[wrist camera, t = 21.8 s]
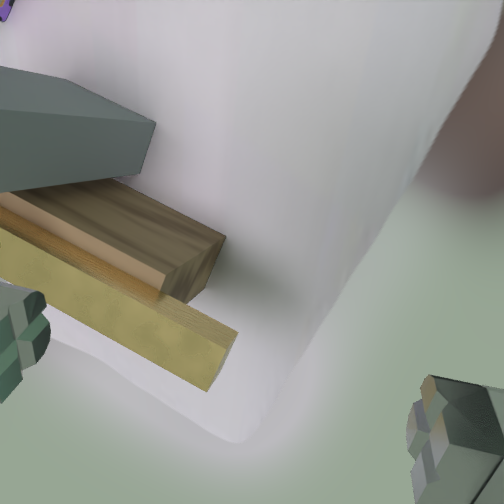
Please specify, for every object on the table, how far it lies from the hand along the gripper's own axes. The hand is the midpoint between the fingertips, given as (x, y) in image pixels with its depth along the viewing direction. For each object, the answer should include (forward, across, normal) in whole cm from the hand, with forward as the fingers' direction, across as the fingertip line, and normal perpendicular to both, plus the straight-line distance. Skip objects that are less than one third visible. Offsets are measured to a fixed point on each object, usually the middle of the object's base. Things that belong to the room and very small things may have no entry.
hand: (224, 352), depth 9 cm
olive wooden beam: (+20, +14, +16) cm, 29 cm away
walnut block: (+36, +17, +18) cm, 43 cm away
